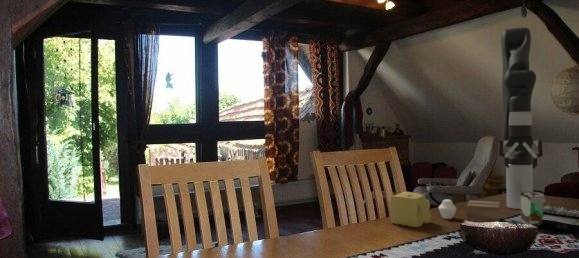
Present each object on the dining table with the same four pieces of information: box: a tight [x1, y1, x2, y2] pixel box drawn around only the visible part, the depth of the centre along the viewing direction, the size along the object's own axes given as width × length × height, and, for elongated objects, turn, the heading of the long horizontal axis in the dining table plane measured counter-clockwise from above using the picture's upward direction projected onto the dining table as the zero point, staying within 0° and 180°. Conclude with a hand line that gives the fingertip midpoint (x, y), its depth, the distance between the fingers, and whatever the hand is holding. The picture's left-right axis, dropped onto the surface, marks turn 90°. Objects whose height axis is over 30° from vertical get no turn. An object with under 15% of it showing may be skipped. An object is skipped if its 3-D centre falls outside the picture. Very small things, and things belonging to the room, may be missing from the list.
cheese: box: [389, 191, 432, 228], centre depth 153 cm, size 10×11×10 cm
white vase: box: [438, 198, 457, 220], centre depth 159 cm, size 6×6×7 cm
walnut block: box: [466, 200, 501, 222], centre depth 154 cm, size 10×10×6 cm
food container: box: [520, 191, 547, 227], centre depth 150 cm, size 12×6×10 cm, turn 168°
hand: (520, 168), depth 162 cm, fingers open, 8 cm apart
